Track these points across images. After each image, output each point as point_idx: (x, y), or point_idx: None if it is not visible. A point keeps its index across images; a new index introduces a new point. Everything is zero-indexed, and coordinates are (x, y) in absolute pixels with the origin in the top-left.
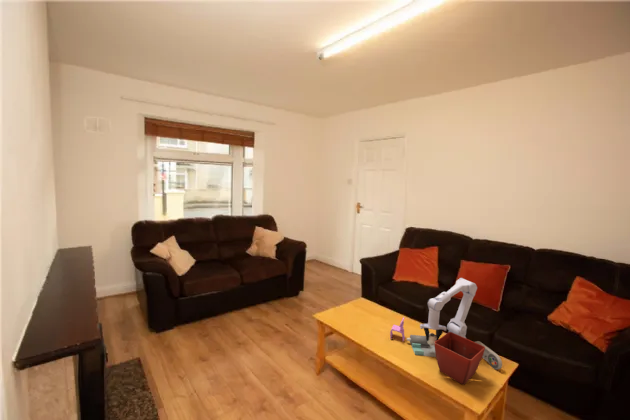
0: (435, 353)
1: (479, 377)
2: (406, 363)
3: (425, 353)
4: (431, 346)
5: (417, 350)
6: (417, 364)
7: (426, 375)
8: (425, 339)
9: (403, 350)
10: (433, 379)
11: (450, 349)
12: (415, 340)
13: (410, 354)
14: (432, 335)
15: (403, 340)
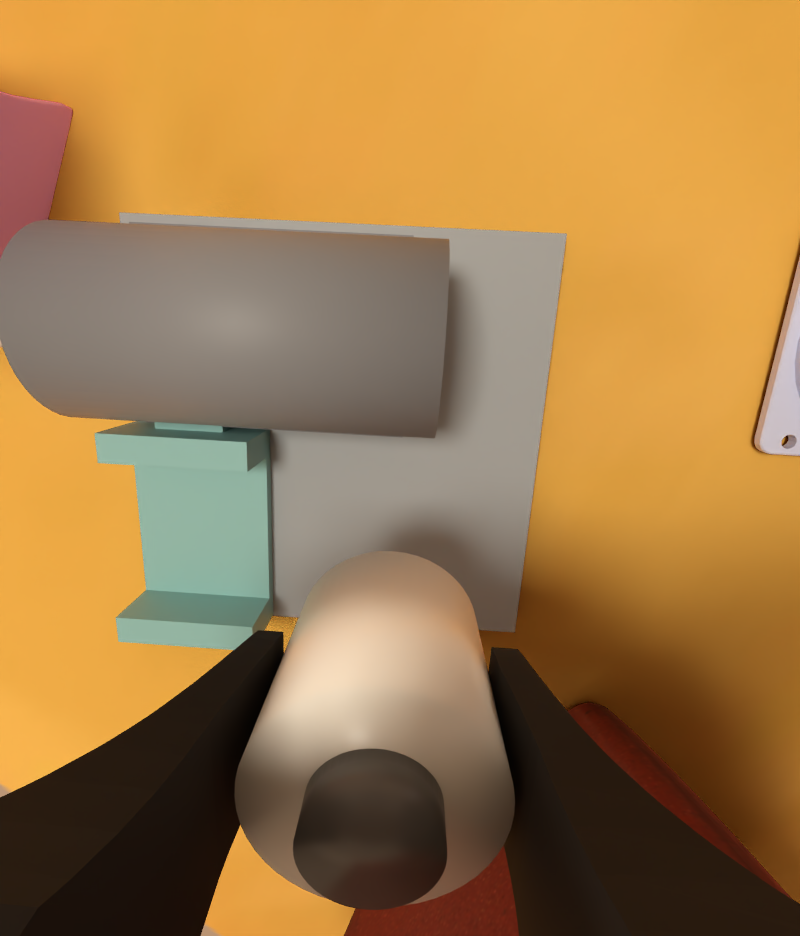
0: (465, 555)
1: (793, 882)
2: (42, 729)
3: (312, 565)
4: (477, 373)
5: (153, 630)
6: None
7: (227, 875)
8: (333, 413)
9: (21, 487)
10: (281, 916)
11: (691, 814)
12: (129, 416)
13: (110, 567)
14: (347, 890)
15: (2, 251)
